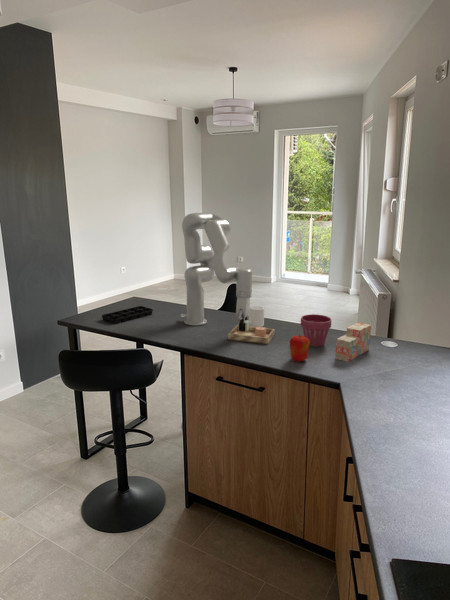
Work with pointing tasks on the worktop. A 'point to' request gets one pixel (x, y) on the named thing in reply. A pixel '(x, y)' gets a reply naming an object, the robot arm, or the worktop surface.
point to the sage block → (245, 325)
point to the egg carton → (127, 314)
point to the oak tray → (250, 335)
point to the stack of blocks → (353, 342)
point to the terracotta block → (260, 331)
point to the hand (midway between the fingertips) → (243, 328)
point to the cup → (256, 316)
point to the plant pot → (316, 328)
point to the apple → (299, 348)
